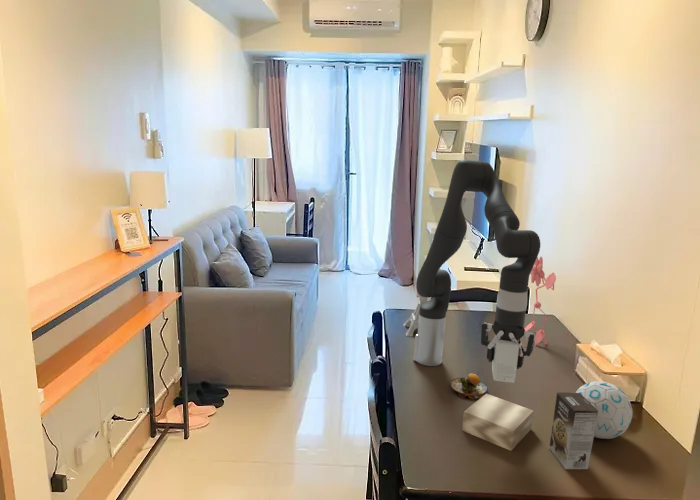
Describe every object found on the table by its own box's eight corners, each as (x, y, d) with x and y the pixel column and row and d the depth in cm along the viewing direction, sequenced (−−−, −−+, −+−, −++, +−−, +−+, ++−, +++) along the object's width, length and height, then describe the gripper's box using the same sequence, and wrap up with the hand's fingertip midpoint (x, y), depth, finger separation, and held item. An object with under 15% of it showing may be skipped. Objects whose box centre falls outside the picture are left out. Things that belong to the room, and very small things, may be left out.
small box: (515, 383, 139) (519, 346, 136) (492, 381, 140) (497, 343, 137) (512, 370, 146) (516, 334, 144) (491, 368, 147) (495, 332, 145)
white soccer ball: (560, 418, 154) (567, 370, 151) (612, 421, 154) (620, 373, 150) (580, 448, 139) (588, 396, 136) (638, 452, 139) (648, 399, 136)
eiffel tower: (439, 338, 211) (446, 264, 204) (406, 336, 211) (411, 263, 205) (435, 326, 224) (440, 256, 218) (403, 324, 224) (408, 255, 218)
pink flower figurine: (532, 328, 226) (542, 248, 219) (557, 353, 201) (569, 263, 194) (496, 327, 226) (505, 247, 218) (517, 351, 200) (528, 262, 193)
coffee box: (547, 448, 139) (555, 391, 135) (571, 448, 139) (580, 391, 136) (564, 470, 130) (573, 410, 126) (589, 469, 130) (599, 410, 127)
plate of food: (463, 378, 177) (465, 358, 175) (494, 392, 169) (497, 370, 167) (442, 389, 168) (444, 368, 167) (474, 404, 160) (476, 381, 159)
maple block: (461, 431, 145) (463, 411, 144) (484, 412, 156) (486, 393, 155) (510, 452, 137) (513, 431, 136) (531, 430, 148) (533, 410, 146)
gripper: (479, 303, 139) (473, 362, 143) (536, 315, 132) (528, 376, 136) (488, 296, 145) (482, 353, 149) (542, 307, 138) (534, 366, 142)
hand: (504, 364), depth 142 cm, fingers closed on small box, 6 cm apart
